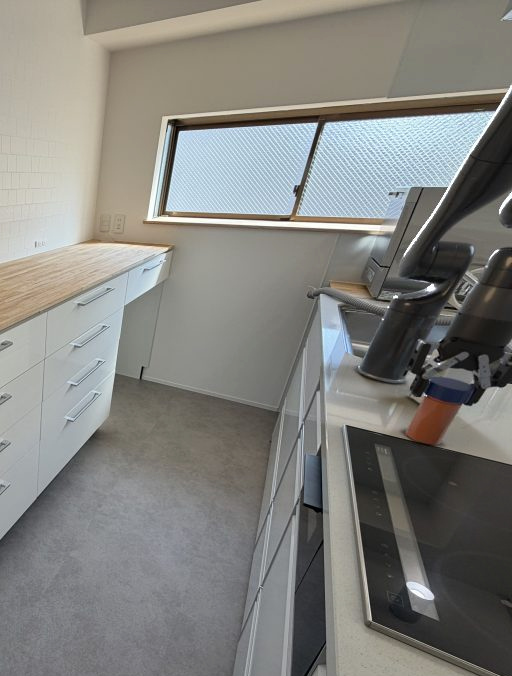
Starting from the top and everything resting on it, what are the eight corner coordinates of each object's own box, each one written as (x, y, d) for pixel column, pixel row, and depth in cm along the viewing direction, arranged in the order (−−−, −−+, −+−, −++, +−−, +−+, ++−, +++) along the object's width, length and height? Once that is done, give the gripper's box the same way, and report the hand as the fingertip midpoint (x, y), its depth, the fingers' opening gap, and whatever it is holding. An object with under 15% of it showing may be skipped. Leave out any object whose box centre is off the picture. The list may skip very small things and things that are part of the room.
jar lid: (445, 388, 78) (452, 376, 77) (478, 404, 73) (485, 391, 72) (413, 388, 78) (420, 376, 77) (444, 403, 73) (451, 390, 72)
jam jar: (398, 430, 82) (423, 380, 77) (424, 431, 82) (451, 381, 77) (419, 444, 78) (447, 393, 73) (447, 445, 77) (477, 394, 73)
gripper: (534, 313, 69) (479, 399, 77) (426, 301, 74) (384, 383, 82) (567, 326, 63) (503, 418, 71) (447, 312, 68) (399, 399, 76)
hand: (439, 399), depth 76 cm, fingers open, 6 cm apart
